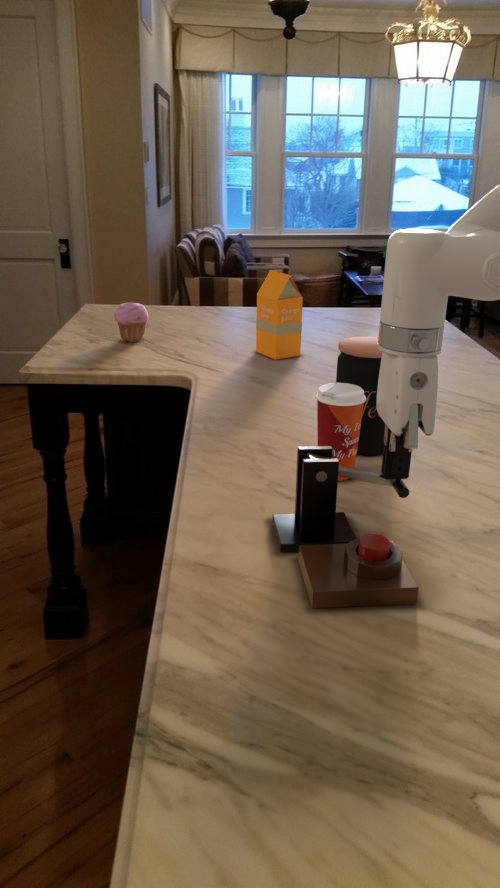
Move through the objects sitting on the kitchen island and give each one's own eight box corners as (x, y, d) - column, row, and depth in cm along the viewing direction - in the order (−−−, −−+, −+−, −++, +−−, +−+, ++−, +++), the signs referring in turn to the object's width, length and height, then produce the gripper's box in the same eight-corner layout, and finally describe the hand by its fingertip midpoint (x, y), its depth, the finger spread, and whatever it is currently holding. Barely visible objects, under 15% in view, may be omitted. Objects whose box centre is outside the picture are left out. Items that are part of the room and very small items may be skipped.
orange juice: (280, 347, 182) (282, 268, 174) (300, 355, 175) (304, 274, 168) (255, 351, 178) (256, 271, 170) (275, 359, 171) (277, 276, 164)
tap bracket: (343, 519, 98) (349, 440, 93) (357, 549, 90) (364, 465, 86) (272, 521, 97) (274, 442, 92) (280, 552, 89) (283, 467, 85)
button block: (392, 556, 89) (395, 529, 87) (416, 603, 80) (420, 573, 78) (298, 560, 88) (299, 532, 86) (312, 608, 78) (313, 578, 77)
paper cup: (341, 488, 106) (347, 400, 101) (301, 473, 111) (305, 389, 106) (370, 472, 112) (377, 388, 106) (331, 459, 117) (336, 378, 111)
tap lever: (393, 481, 95) (398, 466, 94) (406, 502, 89) (412, 485, 89) (300, 463, 93) (305, 446, 92) (308, 483, 87) (313, 466, 86)
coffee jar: (320, 447, 121) (326, 345, 114) (349, 429, 129) (356, 333, 122) (377, 462, 115) (387, 356, 108) (403, 442, 124) (414, 342, 117)
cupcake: (109, 339, 187) (107, 301, 184) (136, 334, 193) (135, 297, 189) (128, 346, 181) (126, 307, 178) (155, 340, 187) (154, 303, 183)
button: (384, 545, 84) (385, 532, 84) (392, 561, 81) (394, 548, 80) (354, 546, 84) (355, 534, 83) (362, 563, 81) (363, 549, 80)
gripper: (463, 354, 78) (442, 502, 85) (420, 323, 91) (405, 453, 98) (397, 354, 77) (381, 504, 84) (364, 323, 91) (353, 454, 98)
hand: (394, 476), depth 91 cm, fingers closed
